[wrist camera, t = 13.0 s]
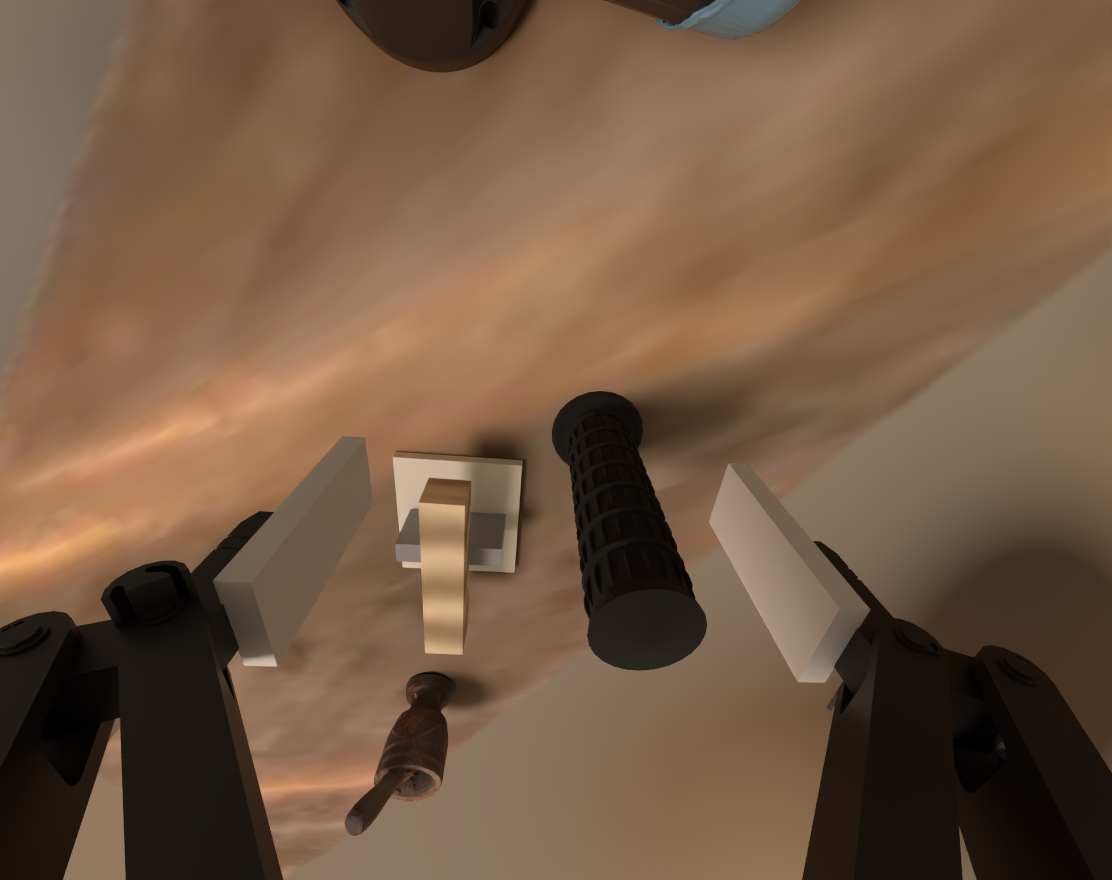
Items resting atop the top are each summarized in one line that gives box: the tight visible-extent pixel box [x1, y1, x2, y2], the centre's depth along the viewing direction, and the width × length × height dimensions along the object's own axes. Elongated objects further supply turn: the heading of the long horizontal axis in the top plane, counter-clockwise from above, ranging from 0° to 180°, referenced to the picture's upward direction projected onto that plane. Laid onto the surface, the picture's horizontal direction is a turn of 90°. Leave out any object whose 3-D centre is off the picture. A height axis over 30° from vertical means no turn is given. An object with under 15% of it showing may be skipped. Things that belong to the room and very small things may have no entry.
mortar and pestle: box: [345, 674, 455, 836], centre depth 57 cm, size 12×9×20 cm
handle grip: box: [552, 391, 707, 670], centre depth 35 cm, size 10×26×10 cm
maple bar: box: [418, 478, 471, 655], centre depth 44 cm, size 20×4×4 cm, turn 174°
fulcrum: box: [393, 452, 522, 573], centre depth 48 cm, size 16×14×7 cm
